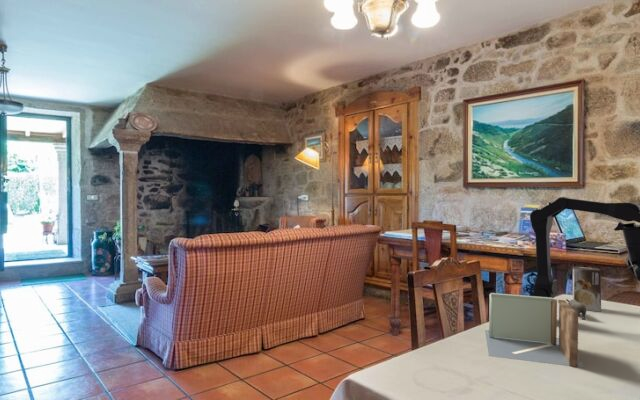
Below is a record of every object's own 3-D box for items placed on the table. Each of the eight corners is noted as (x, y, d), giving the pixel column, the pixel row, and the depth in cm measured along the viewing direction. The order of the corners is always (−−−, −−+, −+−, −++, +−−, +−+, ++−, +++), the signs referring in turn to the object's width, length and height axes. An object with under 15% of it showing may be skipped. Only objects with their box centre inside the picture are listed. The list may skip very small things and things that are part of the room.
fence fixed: (557, 346, 120) (558, 298, 120) (564, 346, 120) (565, 298, 119) (570, 366, 106) (571, 312, 105) (578, 367, 105) (579, 313, 105)
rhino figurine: (573, 311, 159) (573, 295, 159) (589, 321, 145) (589, 304, 145) (562, 310, 160) (562, 295, 160) (576, 321, 146) (576, 304, 146)
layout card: (485, 331, 134) (485, 329, 134) (563, 339, 127) (563, 338, 127) (488, 357, 112) (488, 355, 112) (583, 369, 105) (583, 367, 105)
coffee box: (599, 308, 163) (599, 267, 163) (601, 312, 157) (601, 270, 157) (572, 305, 167) (572, 266, 167) (573, 309, 161) (573, 268, 161)
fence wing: (489, 335, 128) (489, 292, 128) (555, 343, 122) (556, 297, 122) (489, 337, 126) (489, 293, 126) (556, 345, 120) (557, 299, 120)
